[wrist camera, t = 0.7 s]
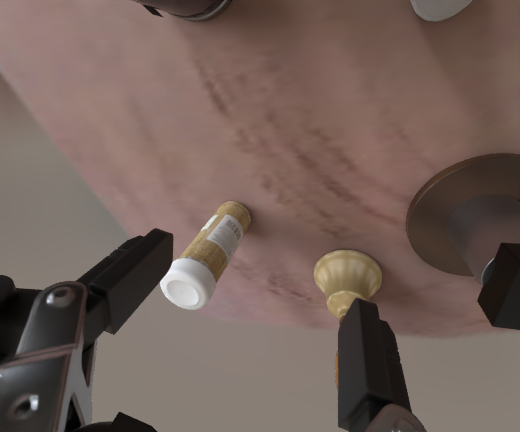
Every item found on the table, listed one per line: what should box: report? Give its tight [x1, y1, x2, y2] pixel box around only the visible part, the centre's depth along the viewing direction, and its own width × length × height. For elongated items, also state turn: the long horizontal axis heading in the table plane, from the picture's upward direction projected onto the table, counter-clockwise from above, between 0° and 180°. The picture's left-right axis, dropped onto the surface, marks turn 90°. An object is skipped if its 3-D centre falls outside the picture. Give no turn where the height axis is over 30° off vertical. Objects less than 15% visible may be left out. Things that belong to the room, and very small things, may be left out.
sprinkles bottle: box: [160, 201, 251, 310], centre depth 28 cm, size 5×4×13 cm
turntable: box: [406, 154, 520, 276], centre depth 25 cm, size 13×13×1 cm
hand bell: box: [314, 250, 382, 389], centre depth 27 cm, size 8×8×16 cm
